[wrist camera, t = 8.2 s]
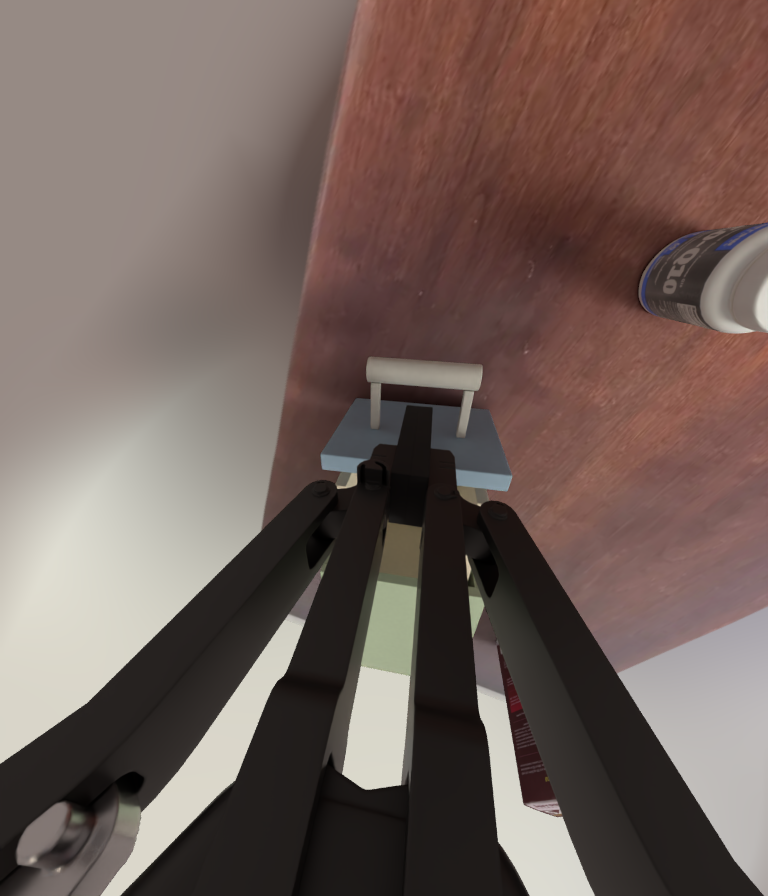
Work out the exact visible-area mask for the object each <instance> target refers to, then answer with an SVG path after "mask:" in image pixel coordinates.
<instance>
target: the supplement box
mask: <svg viewBox="0 0 768 896" xmlns="http://www.w3.org/2000/svg"><path fill="white" fill-rule="evenodd" d="M496 643H497V649H498V655H499V661H500V668H501V673H502V679H503V685H504V691H505V697H506V703H507V708H508V714H509V720H510V726H511V732H512V738H513V744H514V750H515V756H516V762H517V768H518V774H519V780H520V786H521V792H522V798H523V803H524V805H526V806H528V807H530V808H533V809H535V810H538V811H540V812H543V813H546V814H549V815H552V816H556V817H563V816H562V813H561V811H560V808H559V805H558V802H557V800H556V797H555V794H554V792H553V789H552V786H551V784H550V781H549V778H548V775H547V773H546V770H545V767H544V765H543V762H542V759H541V757H540V754H539V751H538V748H537V746H536V743H535V740H534V738H533V735H532V732H531V729H530V727H529V724H528V721H527V719H526V716H525V713H524V711H523V708H522V705H521V702H520V700H519V697H518V694H517V692H516V689H515V686H514V683H513V681H512V678H511V675H510V673H509V670H508V667H507V665H506V662H505V659H504V656H503V654H502V651H501V648H500V646H499V643H498V640H496Z"/></svg>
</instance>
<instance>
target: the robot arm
mask: <svg viewBox="0 0 768 896" xmlns="http://www.w3.org/2000/svg"><path fill="white" fill-rule="evenodd" d="M432 415H433V407H424V406H413V405H407V406H406V410H405V414H404V418H403V423H402V427H401V431H400V435H399V439H398V444H397V445H389V444H378V445H377V446H376V447H375V448H374V449H373V452H372V456H371V458H370V460H365V461H363V462H361V463H359V465H358V466H357V485H355V486H353V487H349V488H341V489H337V486H336V485H335V484H334V483H333V482H331V481H326V480H320V481H315V482H313V483H311V484H309V485H308V486H306V487H305V488H304V489H303V490H302V491H301V492H300V493H299V494H298V495H297V496H296V497H295V498H294V499H293V500H292V501H291V502H290V503H289V504H288V505H287V506H286V507H285V508H284V509H283V510H282V511H281V512H280V513H279V514H278V515H277V516H276V517H275V518H274V519H273V520H272V521H271V522H270V523H269V524H268V525H267V526H266V527H265V528H264V529H263V530H262V531H261V532H260V533H259V534H258V535H257V536H256V537H255V538H254V539H253V540H252V541H251V542H250V543H249V544H248V545H247V546H246V547H245V548H244V549H243V550H242V551H241V552H240V553H239V554H238V555H237V556H236V557H235V558H234V559H233V560H232V561H231V562H230V563H229V564H228V565H226V566H225V568H223V569H222V570H221V571H220V572H219V573H218V574H217V575H216V576H215V578H213V579H212V580H211V581H210V582H209V583H208V584H207V585H206V586H205V587H204V588H203V589H202V590H201V591H200V592H199V593H198V594H197V595H196V596H195V597H194V598H193V599H192V600H191V601H190V602H189V603H188V604H187V605H186V606H185V607H184V608H183V609H182V610H181V611H180V612H179V613H178V614H177V615H176V616H175V617H174V618H173V619H172V620H171V621H170V622H169V623H168V624H167V625H166V626H165V627H164V628H163V629H162V630H161V631H160V632H159V633H158V634H157V635H156V636H155V637H154V638H153V639H152V640H151V641H150V642H149V643H148V644H147V645H146V646H145V647H143V648H142V649H141V650H140V652H138V653H137V655H135V657H133V658H132V659H131V660H130V661H129V662H128V663H127V664H126V665H125V666H124V667H123V668H122V669H121V670H120V671H119V672H118V673H117V674H116V675H115V676H114V677H113V678H112V679H111V680H110V681H109V682H108V683H107V684H106V685H105V686H104V687H103V688H102V689H101V690H100V691H99V692H98V693H97V694H96V695H95V696H94V697H93V698H92V699H91V700H90V701H89V702H88V703H87V704H85V705H84V706H82V707H81V708H79V709H78V710H77V711H75V712H74V713H72V714H71V715H69V716H68V717H67V718H65V719H64V720H62V721H61V722H60V723H58V724H57V725H55V726H54V727H53V728H51V729H49V730H48V731H47V732H45V733H44V734H43V735H41V736H40V737H38V738H37V739H35V740H34V741H33V742H31V743H30V744H28V745H27V746H25V747H24V748H23V749H21V750H20V751H18V752H17V753H15V754H14V755H13V756H11V757H10V758H8V759H7V760H5V761H4V762H2V763H1V764H0V896H100V895H101V894H102V893H103V891H104V890H105V888H106V887H107V886H108V884H109V883H110V882H111V880H112V879H113V878H114V876H115V875H116V873H117V872H118V871H119V869H120V868H121V867H122V866H123V865H124V864H125V863H126V861H127V859H128V858H129V856H130V855H131V853H132V851H133V848H134V845H135V842H136V837H137V834H138V831H139V825H140V820H141V812H142V811H143V810H144V809H145V808H146V807H147V806H148V805H149V804H150V803H151V802H152V801H153V800H154V799H155V798H156V796H157V795H158V794H159V793H160V792H161V790H162V789H163V788H164V787H165V786H166V785H167V784H168V782H169V781H170V780H171V779H172V778H173V776H174V775H175V774H176V773H177V772H178V771H179V769H180V768H181V767H182V765H183V764H184V762H185V761H186V759H187V758H188V757H189V756H190V754H191V753H192V752H193V750H194V749H195V748H196V746H197V745H198V744H199V742H200V741H201V739H202V738H203V736H204V735H205V733H206V732H207V731H208V729H209V727H210V726H211V725H212V723H213V722H214V721H215V719H216V718H217V716H218V715H219V713H220V712H221V710H222V709H223V708H224V706H225V705H226V703H227V702H228V700H229V699H230V697H231V696H232V695H233V693H234V692H235V690H236V689H237V687H238V686H239V684H240V683H241V682H242V680H243V679H244V677H245V676H246V674H247V673H248V672H249V670H250V669H251V667H252V666H253V664H254V663H255V661H256V660H257V659H258V657H259V656H260V654H261V653H262V651H263V650H264V648H265V647H266V646H267V644H268V642H269V641H270V640H271V638H272V637H273V635H274V634H275V633H276V631H277V630H278V628H279V627H280V625H281V624H282V623H283V621H284V620H285V618H286V617H287V615H288V614H289V612H290V611H291V610H292V608H293V607H294V605H295V604H296V602H297V601H298V599H299V598H300V597H301V595H302V594H303V592H304V591H305V589H306V588H307V586H308V585H309V584H310V582H311V581H312V579H313V578H314V576H315V575H316V573H317V572H318V571H319V569H320V568H321V566H322V565H323V563H324V562H325V560H326V559H327V558H328V556H329V555H330V553H331V555H330V557H329V560H328V563H327V565H326V568H325V571H324V574H323V576H322V579H321V582H320V584H319V587H318V590H317V592H316V595H315V598H314V600H313V603H312V606H311V608H310V611H309V614H308V616H307V619H306V622H305V624H304V627H303V630H302V633H301V635H300V638H299V640H298V643H297V646H296V649H295V651H294V654H293V657H292V659H291V662H290V665H289V667H288V669H287V672H286V673H285V675H284V676H283V677H282V678H281V679H280V680H278V681H277V683H276V684H275V686H274V687H273V689H272V691H271V693H270V696H269V698H268V700H267V702H266V705H265V707H264V710H263V712H262V715H261V717H260V720H259V722H258V725H257V727H256V730H255V733H254V735H253V738H252V740H251V743H250V745H249V748H248V750H247V753H246V755H245V758H244V761H243V763H242V766H241V768H240V771H239V773H238V776H237V778H236V781H234V782H233V783H232V784H231V785H229V786H228V787H227V788H226V789H225V790H223V791H222V792H221V793H220V794H219V795H218V796H217V797H216V798H215V799H214V800H213V801H212V802H211V803H210V804H209V805H208V806H207V807H206V808H205V809H204V811H203V812H202V813H201V814H200V815H199V816H198V817H197V818H196V819H195V820H194V821H193V822H192V823H191V824H190V825H189V826H188V827H187V828H186V829H185V830H184V831H183V832H182V833H181V834H180V835H179V836H178V837H177V838H176V839H175V840H174V841H173V842H172V843H171V844H170V845H169V846H168V848H166V850H165V851H164V852H163V853H162V854H161V855H160V856H159V857H158V858H157V859H156V860H155V861H154V862H153V863H152V864H151V865H150V866H149V867H148V868H147V869H146V870H145V871H144V872H143V873H142V874H141V875H140V876H139V877H138V878H137V879H136V880H135V881H134V882H133V883H132V884H131V885H130V886H129V887H128V888H127V889H126V890H125V891H124V893H122V895H121V896H529V894H528V892H527V890H526V888H525V886H524V884H523V882H522V880H521V878H520V876H519V874H518V872H517V871H516V869H515V867H514V865H513V864H512V862H511V861H510V859H509V857H508V856H507V854H506V852H505V851H504V850H503V848H502V847H501V845H500V844H499V843H498V838H497V828H496V818H495V808H494V798H493V787H492V777H491V767H490V756H489V747H488V741H487V734H486V730H485V726H484V724H483V722H482V720H481V718H480V715H479V709H478V699H477V687H476V675H475V663H474V651H473V639H472V627H471V614H470V602H469V590H468V578H467V566H466V556H467V558H468V562H469V564H470V567H471V570H472V573H473V575H474V578H475V581H476V583H477V586H478V589H479V591H480V594H481V597H482V600H483V602H484V605H485V608H486V610H487V613H488V616H489V619H490V621H491V624H492V627H493V629H494V632H495V635H496V637H497V640H498V643H499V646H500V648H501V651H502V654H503V656H504V659H505V662H506V665H507V667H508V670H509V673H510V675H511V678H512V681H513V683H514V686H515V689H516V692H517V694H518V697H519V700H520V702H521V705H522V708H523V711H524V713H525V716H526V719H527V721H528V724H529V727H530V729H531V732H532V735H533V738H534V740H535V743H536V746H537V748H538V751H539V754H540V757H541V759H542V762H543V765H544V767H545V770H546V773H547V775H548V778H549V781H550V784H551V786H552V789H553V792H554V794H555V797H556V800H557V802H558V805H559V808H560V811H561V813H562V816H563V819H564V821H565V824H566V826H567V829H568V832H569V835H570V837H571V840H572V843H573V845H574V848H575V850H576V852H577V855H578V857H579V860H580V862H581V865H582V867H583V870H584V872H585V875H586V877H587V880H588V882H589V884H590V886H591V888H592V890H593V892H594V894H595V896H764V895H763V894H762V893H761V892H760V891H759V889H758V888H757V887H756V886H755V885H754V884H753V882H752V881H751V880H750V879H749V878H748V876H747V875H746V874H745V873H744V872H743V871H742V869H741V868H740V867H739V866H738V865H737V863H736V862H735V861H734V859H733V858H732V856H731V855H730V853H729V852H728V850H727V848H726V847H725V845H724V844H723V842H722V840H721V839H720V838H719V836H718V834H717V832H716V831H715V829H714V828H713V826H712V825H711V823H710V821H709V820H708V818H707V817H706V815H705V813H704V812H703V810H702V809H701V807H700V805H699V804H698V802H697V801H696V799H695V797H694V796H693V794H692V793H691V791H690V790H689V788H688V786H687V785H686V783H685V781H684V780H683V778H682V777H681V775H680V774H679V772H678V770H677V769H676V767H675V766H674V764H673V762H672V761H671V759H670V758H669V756H668V754H667V753H666V751H665V750H664V748H663V746H662V745H661V744H660V742H659V740H658V739H657V737H656V735H655V734H654V732H653V731H652V729H651V727H650V726H649V724H648V723H647V721H646V719H645V718H644V716H643V715H642V713H641V711H640V710H639V708H638V707H637V705H636V704H635V702H634V700H633V699H632V697H631V696H630V694H629V692H628V691H627V689H626V688H625V686H624V685H623V683H622V681H621V680H620V678H619V676H618V675H617V673H616V672H615V670H614V668H613V667H612V665H611V664H610V662H609V661H608V659H607V657H606V656H605V654H604V653H603V651H602V649H601V648H600V646H599V645H598V643H597V641H596V640H595V638H594V637H593V635H592V633H591V632H590V630H589V629H588V627H587V626H586V624H585V622H584V621H583V619H582V618H581V616H580V614H579V613H578V611H577V610H576V608H575V606H574V605H573V603H572V602H571V600H570V598H569V597H568V595H567V594H566V592H565V591H564V589H563V587H562V586H561V584H560V583H559V581H558V579H557V578H556V576H555V575H554V573H553V571H552V570H551V568H550V567H549V565H548V563H547V562H546V560H545V559H544V557H543V555H542V554H541V552H540V551H539V549H538V548H537V546H536V544H535V543H534V541H533V540H532V538H531V536H530V535H529V533H528V532H527V530H526V528H525V527H524V525H523V524H522V522H521V520H520V519H519V517H518V516H517V514H516V513H515V511H514V510H513V509H512V508H511V507H509V506H508V505H506V504H505V503H502V502H499V501H486V502H484V503H483V504H481V506H478V505H475V504H473V503H470V502H468V501H466V500H465V499H463V498H462V497H461V495H460V493H459V491H458V490H457V479H456V466H455V456H454V455H453V454H452V452H451V451H450V450H442V449H433V448H431V434H432ZM387 523H396V524H403V525H410V526H417V527H422V532H421V539H420V546H419V549H420V554H419V568H418V581H417V594H416V608H415V621H414V634H413V648H412V661H411V674H410V688H409V701H408V714H407V715H408V716H407V729H406V740H405V750H404V759H403V770H402V783H401V785H399V786H392V787H386V788H379V789H372V790H365V789H362V788H361V787H359V786H358V785H356V784H355V783H354V782H352V781H351V780H349V779H348V778H346V777H345V776H344V775H342V771H343V765H344V760H345V754H346V747H347V737H348V730H349V724H350V719H351V713H352V708H353V703H354V698H355V693H356V688H357V683H358V678H359V672H360V667H361V662H362V657H363V652H364V647H365V642H366V637H367V631H368V626H369V621H370V616H371V611H372V606H373V601H374V596H375V590H376V585H377V580H378V575H379V570H380V565H381V560H382V555H383V549H384V544H385V539H386V534H387Z"/></svg>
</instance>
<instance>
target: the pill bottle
mask: <svg viewBox="0 0 768 896" xmlns="http://www.w3.org/2000/svg"><path fill="white" fill-rule="evenodd" d="M639 300H640V302H641V304H642V306H643V307H644V309H645V310H647V311H648V312H649V313H651V314H653V315H656V316H659V317H663V318H667V319H671V320H675V321H679V322H683V323H688V324H692V325H696V326H700V327H704V328H708V329H712V330H716V331H719V332H725V333H748V332H754V331H760V332H766V333H768V223H762V224H754V225H745V226H738V227H731V228H722V229H715V230H706V231H700V232H695V233H691V234H688V235H685V236H683V237H680V238H678V239H676V240H675V241H673V242H672V243H670V244H669V245H667V246H666V247H665V248H664V249H662V250H661V251H660V252H659V253H658V254H657V255H656V256H655V257H654V258H653V259H652V261H651V262H650V263H649V265H648V266H647V267H646V269H645V271H644V272H643V275H642V277H641V281H640V284H639Z"/></svg>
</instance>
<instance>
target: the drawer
mask: <svg viewBox="0 0 768 896" xmlns="http://www.w3.org/2000/svg"><path fill="white" fill-rule="evenodd" d="M366 378H367V381H368V382H371V399H362V398H356V399H355V400H354V402H353V404H352V405H351V407H350V408H349V410H348V411H347V413H346V415H345V416H344V418H343V419H342V421H341V422H340V424H339V426H338V427H337V429H336V430H335V432H334V434H333V435H332V437H331V438H330V440H329V441H328V443H327V445H326V446H325V448H324V449H323V451H322V452H321V454H320V455H321V465H322V469H324V470H332V471H341V473H340V475H339V477H338V479H337V481H336V483H335V485H336V486H337V489H341V488H349V487H353V486H355V485H357V466H358V465H359V463H361V462H363V461H365V460H370V458H371V456H372V452H373V449H374V448H375V447H376V446H377V445H378V444H389V445H397V444H398V439H399V435H400V431H401V427H402V423H403V418H404V414H405V410H406V406H407V405H413V406H424V407H433V415H432V434H431V448H433V449H442V450H450V451H451V452H452V454H453V455H454V456H455V466H456V479H457V490H458V491H459V493H460V495H461V497H462V498H463V499H465V500H466V501H468V502H470V503H473V504H475V505H478V506H481V504H483V503H484V502H486V501H489V499H488V494H487V490H486V489H491V490H499V491H508V488H509V485H510V482H511V479H512V474H511V471H510V468H509V465H508V462H507V459H506V457H505V454H504V451H503V448H502V445H501V442H500V439H499V437H498V434H497V431H496V428H495V425H494V422H493V419H492V417H491V414H490V411H489V410H486V409H474V408H471V405H472V400H473V395H474V391H478V390H479V387H480V384H481V379H482V365H481V364H469V363H455V362H441V361H427V360H413V359H399V358H385V357H371V356H370V357H369V358H368V360H367V366H366ZM381 383H387V384H399V385H411V386H423V387H435V388H448V389H460V390H464V391H463V396H462V402H461V407H452V406H441V405H430V404H418V403H407V402H396V401H385V400H381ZM421 532H422V527H417V526H410V525H403V524H396V523H387V534H386V539H385V544H384V549H383V555H382V560H381V565H380V570H379V572H381V573H387V574H393V575H399V576H406V577H412V578H418V568H419V554H420V549H419V546H420V539H421ZM466 566H467V578H469V575H470V572H471V567H470V564H469V562H468V558H467V556H466Z"/></svg>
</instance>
